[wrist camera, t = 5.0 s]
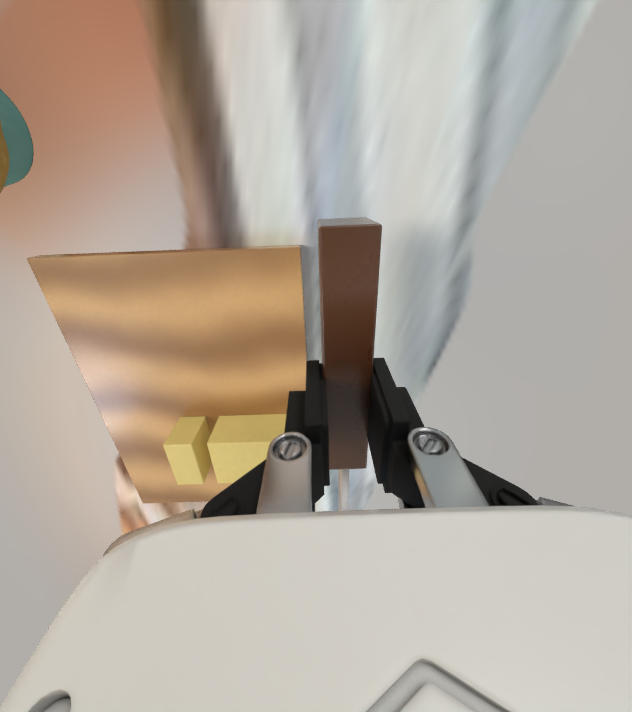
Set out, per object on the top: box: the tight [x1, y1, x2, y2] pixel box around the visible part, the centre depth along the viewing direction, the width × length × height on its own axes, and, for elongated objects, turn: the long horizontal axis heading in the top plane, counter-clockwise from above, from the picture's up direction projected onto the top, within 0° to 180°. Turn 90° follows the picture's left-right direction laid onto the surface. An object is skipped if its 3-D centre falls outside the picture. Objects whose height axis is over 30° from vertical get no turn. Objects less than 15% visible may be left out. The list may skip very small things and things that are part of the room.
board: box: [27, 245, 307, 503], centre depth 23 cm, size 22×16×1 cm
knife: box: [317, 217, 382, 511], centre depth 14 cm, size 20×2×3 cm, turn 2°
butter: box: [207, 414, 286, 483], centre depth 22 cm, size 4×6×3 cm, turn 92°
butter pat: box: [163, 416, 212, 485], centre depth 22 cm, size 4×2×3 cm, turn 2°
